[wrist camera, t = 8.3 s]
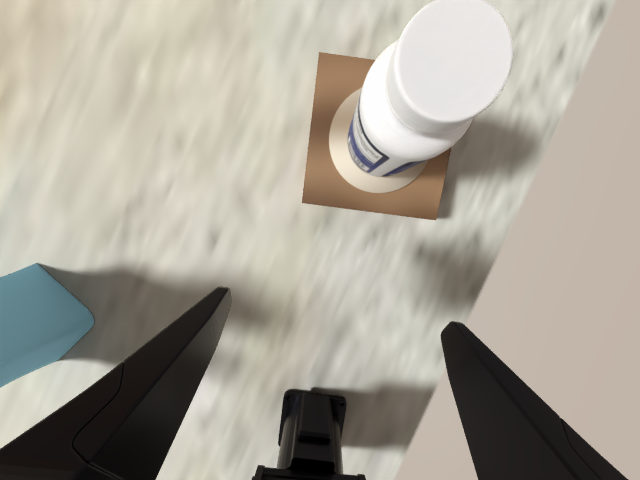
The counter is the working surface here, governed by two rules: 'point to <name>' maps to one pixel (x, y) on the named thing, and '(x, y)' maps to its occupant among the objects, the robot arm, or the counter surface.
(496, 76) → the pill bottle
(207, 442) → the counter surface
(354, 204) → the walnut base
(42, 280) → the vase
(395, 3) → the counter surface
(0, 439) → the counter surface
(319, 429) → the robot arm
